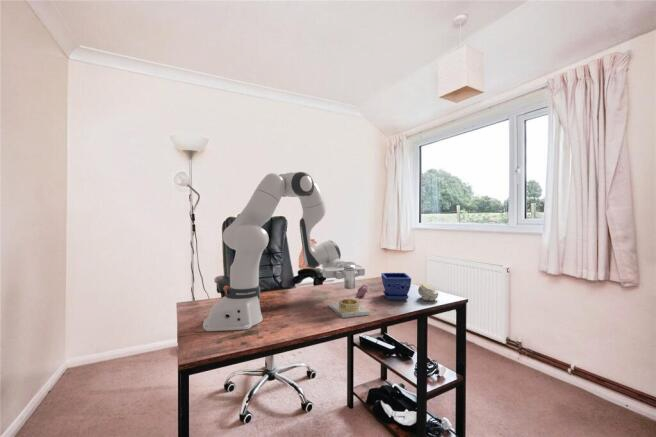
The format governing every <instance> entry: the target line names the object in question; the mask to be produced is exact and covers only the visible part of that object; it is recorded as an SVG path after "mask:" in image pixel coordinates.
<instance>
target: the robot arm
mask: <svg viewBox="0 0 656 437" xmlns="http://www.w3.org/2000/svg"><path fill="white" fill-rule="evenodd" d="M283 197H284V198H285V197H289V198H298V199H299V201H300V204H301V208H302V215H301V216H302V217H301V218H300V220H299V231H300V239H301V245H302V247H301V248H302V259H303V263H304V264H305V266H306V267H308V268H311V269H315V268H317V267H319V266H320V265H321V267H322V269H320V270H319V273H321V274H322V277H323V278H325V279H336V280H342V279H344V278H345V274H344V265H347V264H351V265H355V278H357V277H362V276H365V274H366V268H365V267H364V266H363V265H360V264H357V263H356V262H354V261H344V260H341V256H342V255H341V249H340V247H339V246H338V245H337V243H336V242H334V241H332V240H330V239H328V240H325V241H324V242H321V243H319V244H317V245H315V246H313V247H312V240H311V232H312V230H313V228H314V227H315V226H316V225H317V224H318V223H320V222H321V221H322V220H323V218H324V216H325V215H326V211H327V210H326V203H325V201H324V197H323V194H322V191H321V189H320V188H319V186H318V184H317V183H316V182H314V180H313V178H312V176H311V175H310V174H309V173H307V172H303V171H298V172H297V171H296V172H295V171H294V172H286V173H281V174H278V173H272V172H271V173H268V174H266V175H265V176H264V177H263V178H262V180H261V181H260V182H259V184H258V185H257V186H256V188H255V190H254V192H253V193H252V195H251V197H250V199H249V200H248V203H247V204H246V205H245V207H244V208H243V210H242V211H241V212H239V214H238V216H236V218H235V219H234V220H233V221H232V223H230V225H228V226H227V227H226V228H225V229H224V231H223V233H222V240H223V243H224V244H225V245H226V246H227V247H229V249H232V250H235V255H234V259H233V262H232V264H231V265H230V267H229V268H230V269H229V286H228V285H224V287H223V291H224V296H223V297H222V298H221V299H220V300H219V301H217V302H216V303H214V304H213V305H212V306H211V308H210V311H209V314H208V316H207V317H206V318H205V319H204V320H203V323H202V329H203V330H204V331H205V332H220V331H221V332H222V331H238V330H241V331H242V330H249V329H250V328H252V327H253V326H256V325H258V324H259V323H261V322H262V321H263V320H264V318H263V315H262V311H261V305H260V297H261V287H260V284H259V283H260V282H259V278H260V277H259V276H260V272H259V271H260V262H261V259H262V256H263V252H264V250H265V249H266V248H267V247H268V244H269V242H270V238H269V233H268V232H267V231H266V230H265V229H264V228H262V227H263V226H264V225H265V224H266V223H267V222H268V221H270V220H271V218H272V216H273V215H274V213H275V211H276V210H277V209H276V208H277V207H278V205H279V202H280V201H281V199H282V198H283Z"/></svg>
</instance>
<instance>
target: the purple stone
mask: <svg viewBox="0 0 656 437" xmlns="http://www.w3.org/2000/svg"><path fill="white" fill-rule="evenodd" d="M368 289H369V285H368V284H367V283H363V284H362V285H361V286H360V287H359V288H358V289H357V293H356V297H357V298H361V297H364V296H365V295H366V293H368V292H369V291H368Z"/></svg>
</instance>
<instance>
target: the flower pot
mask: <svg viewBox="0 0 656 437" xmlns="http://www.w3.org/2000/svg"><path fill="white" fill-rule="evenodd" d="M381 280H382V281H381V283H382V286H383V288H384V290H382V292H383V294H384V296H385V298H386V300H388V301H407V300H408V299H409V297H410V296H409V291H410V290H411V289H410V288H411V284H412V278H411V276H410V275H408V274H407V273H406V272H382V273H381Z"/></svg>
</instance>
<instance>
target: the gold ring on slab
mask: <svg viewBox="0 0 656 437" xmlns="http://www.w3.org/2000/svg"><path fill="white" fill-rule="evenodd" d="M329 308H330V309H331V310H333V311H334V312H335V313H336V314H337V315H338V316H339V317H340V318H342V319H345V318H354V317H362V316H369V315H371V311H370V310H369V309H367V307H365V306H363V305H362V304H361V303H360V300H358V299H353V298H342V299H339V301H338V302H335V303H329Z"/></svg>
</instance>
